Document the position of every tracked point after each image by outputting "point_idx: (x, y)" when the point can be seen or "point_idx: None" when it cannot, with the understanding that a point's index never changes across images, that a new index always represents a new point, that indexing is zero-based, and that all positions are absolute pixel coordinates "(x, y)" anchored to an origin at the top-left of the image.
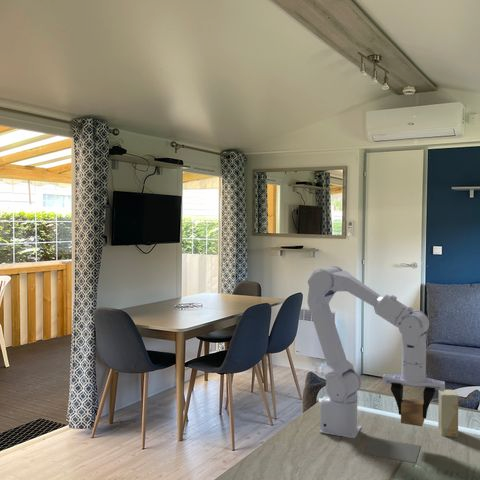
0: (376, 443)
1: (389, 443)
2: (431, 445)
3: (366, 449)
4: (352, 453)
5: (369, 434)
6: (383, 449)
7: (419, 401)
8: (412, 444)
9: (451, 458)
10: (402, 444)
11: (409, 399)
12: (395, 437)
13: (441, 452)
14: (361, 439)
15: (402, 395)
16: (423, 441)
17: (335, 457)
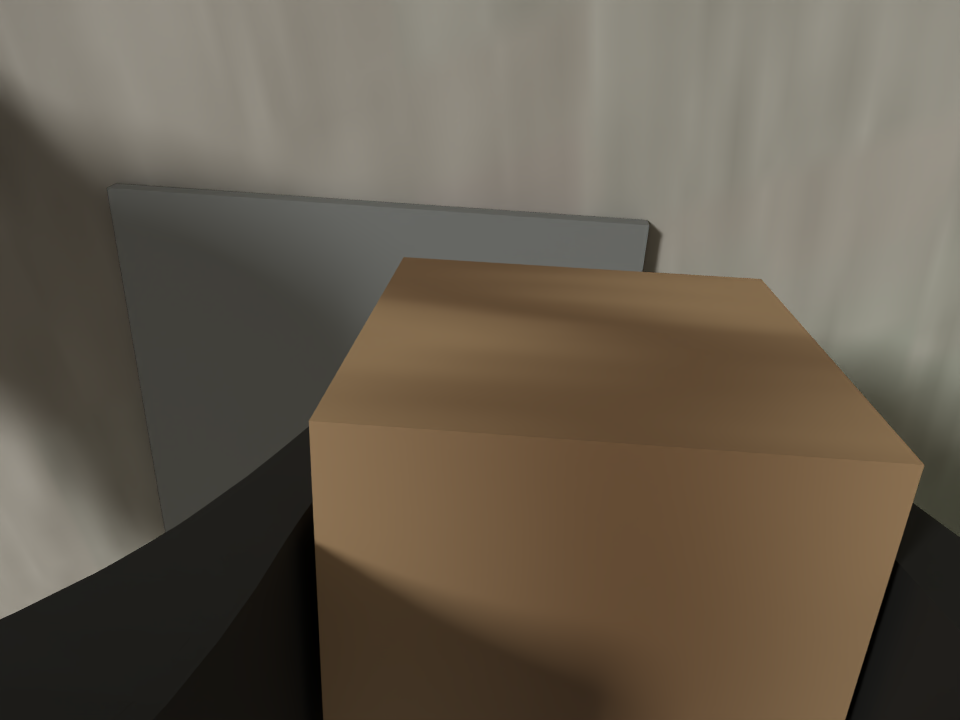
0: (199, 324)
1: (319, 279)
2: (777, 115)
3: (161, 473)
4: (84, 529)
5: (39, 50)
6: (297, 427)
7: (752, 610)
8: (558, 222)
9: (943, 374)
10: (452, 256)
11: (478, 528)
12: (343, 24)
13: (865, 270)
14: (23, 228)
15: (262, 634)
16: (688, 22)
17: (6, 616)
